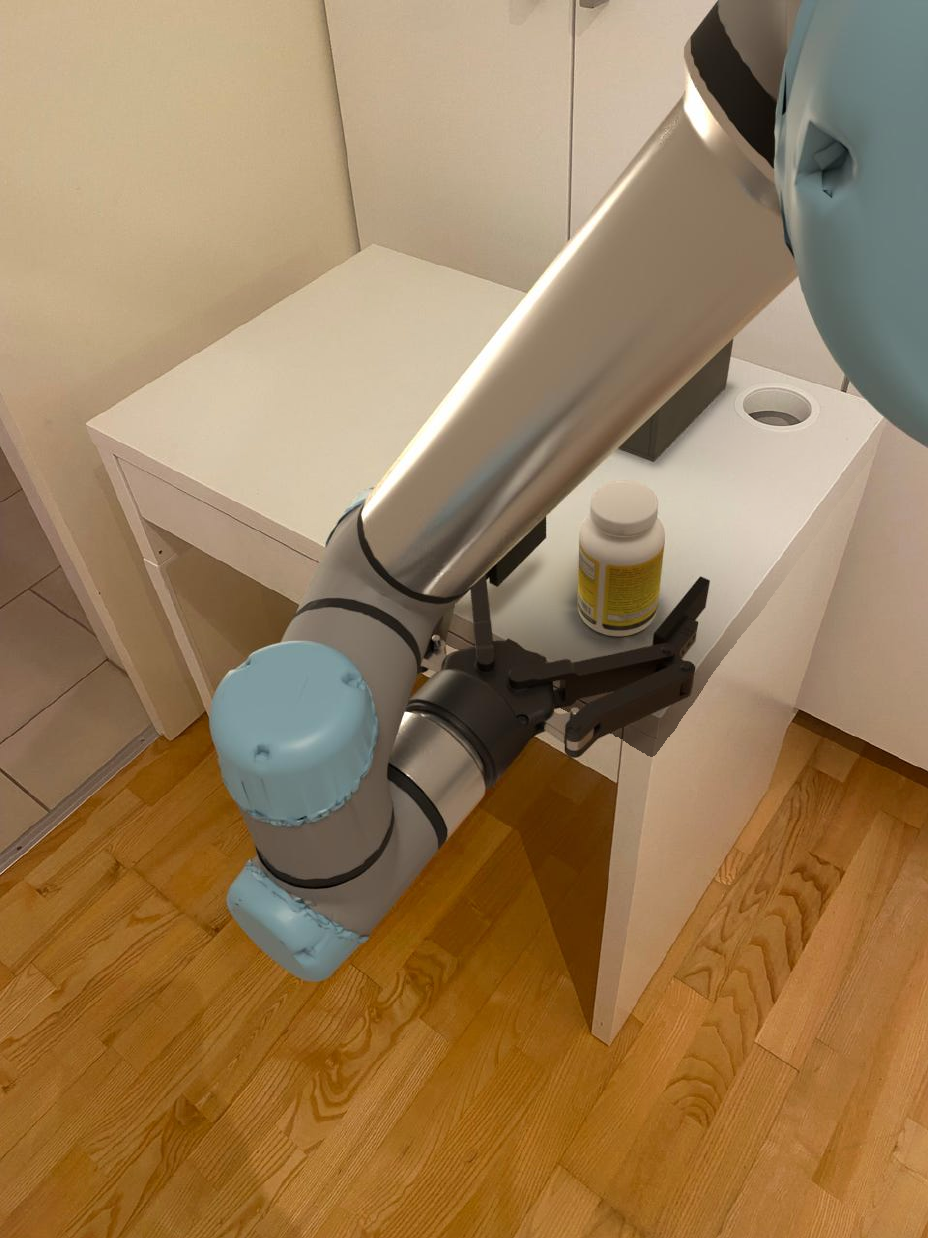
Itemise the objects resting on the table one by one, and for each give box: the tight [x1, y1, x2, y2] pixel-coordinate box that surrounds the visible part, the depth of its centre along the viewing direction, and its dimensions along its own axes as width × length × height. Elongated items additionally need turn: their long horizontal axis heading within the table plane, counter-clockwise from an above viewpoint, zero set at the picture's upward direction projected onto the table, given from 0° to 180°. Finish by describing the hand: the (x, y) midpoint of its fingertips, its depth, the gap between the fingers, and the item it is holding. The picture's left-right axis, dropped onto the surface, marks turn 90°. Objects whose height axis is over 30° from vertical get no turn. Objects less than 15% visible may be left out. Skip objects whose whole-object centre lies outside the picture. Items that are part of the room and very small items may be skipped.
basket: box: [617, 337, 735, 462], centre depth 92 cm, size 14×14×6 cm
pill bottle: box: [577, 480, 666, 637], centre depth 71 cm, size 6×6×11 cm
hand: (619, 555), depth 70 cm, fingers open, 13 cm apart
